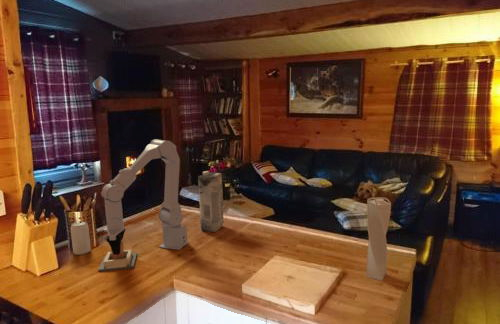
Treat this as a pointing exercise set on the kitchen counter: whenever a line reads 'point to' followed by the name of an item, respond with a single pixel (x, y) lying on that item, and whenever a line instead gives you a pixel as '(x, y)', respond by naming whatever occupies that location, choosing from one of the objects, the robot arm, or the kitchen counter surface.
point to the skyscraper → (377, 237)
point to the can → (80, 238)
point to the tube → (121, 255)
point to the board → (118, 261)
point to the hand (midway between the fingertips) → (117, 251)
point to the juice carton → (210, 201)
